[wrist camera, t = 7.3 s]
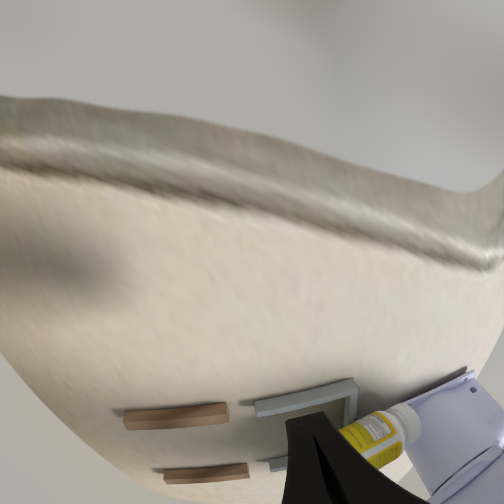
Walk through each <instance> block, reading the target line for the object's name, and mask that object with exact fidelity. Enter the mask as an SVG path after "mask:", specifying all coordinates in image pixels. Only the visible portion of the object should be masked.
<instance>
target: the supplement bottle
mask: <svg viewBox="0 0 504 504" xmlns="http://www.w3.org/2000/svg"><path fill="white" fill-rule="evenodd" d="M339 431H340V433H341V434H342V435H343V436H344V437H345V438H346V439H347V441H348V442H349V443H350V444H351V445H352V446H353V447H354V448H355V449H356V450H357V451H358V452H359V453H360V454H361V455H362V456H363V457H364V458H365V459H366V460H367V461H368V462H370V463H371V464H372V465H373V466H374V467H375V468H376V469H380V468H382V467H383V466H385V465H387V464H388V463H390V462H392V461H393V460H395V459H397V458H398V457H399V456H400V455H401V454H402V453H403V451H404V448H406V447H408V446H409V445H411V444H412V443H414V442H415V441H417V440H418V439H419V438H420V436H421V431H422V428H421V423H420V420H419V417H418V415H417V414H416V412H415V411H414V410H413V409H412V408H411V407H410V406H409V405H407V404H405V403H398V404H396V405H394V406H392V407H390V408H388V409H387V410H385V411H376V412H373V413H371V414H369V415H367V416H365V417H363V418H361V419H359V420H357V421H355V422H353V423H351V424H349V425H347V426H345V427H343V428H341V429H339Z"/></svg>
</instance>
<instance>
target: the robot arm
mask: <svg viewBox="0 0 504 504" xmlns="http://www.w3.org/2000/svg"><path fill="white" fill-rule="evenodd" d="M475 374H476V371H475V370H471V371H469V372H467V373H465V374H463V375H461V376H459V377H458V378H456V379H454V380H452V381H450V382H448V383H445V384H443V385H441V386H439V387H437V388H435V389H433V390H431V391H428V392H426V393H424V394H422V395H419V396H417V397H415V398H412V399H410V400H407V401H405V402H403V403H405V404H407V405H409V406H410V407H411V408H412V409H413V410H414V411H415V412H416V414H417V415H418V417H419V420H420V423H421V428H422V431H421V436H420V438H419V439H418V440H417V441H415V442H414V443H412V444H411V445H409V446H408V447H406V448H404V450H405V452H406V453H407V455H408V457H409V459H410V460H411V462H412V464H413V466H414V467H415V469H416V471H417V473H418V474H419V476H420V478H421V480H422V481H423V483H424V485H425V486H426V488H427V490H428V492H429V494H430V496H431V497H430V498H429V499H427V500H426V501H425V500H423V499H421V498H419V497H417V496H415V495H414V494H411V493H410V492H408V491H407V490H405V489H403V488H402V487H400V486H399V485H397V484H396V483H395V482H393V481H392V480H390V479H389V478H388V477H386V476H385V475H384V474H383V473H381V472H380V471H379V470H378V469H376V468H375V467H374V466H373V465H372V464H371V463H370V462H368V461H367V460H366V459H365V458H364V457H363V456H362V455H361V454H360V453H359V452H358V451H357V450H356V449H355V448H354V447H353V446H352V445H351V444H350V443H349V442H348V441H347V439H346V438H345V437H344V436H343V435H342V434H341V433H340V431H339V430H338V429H337V428H336V426H335V425H334V424H333V422H332V421H331V420H330V418H329V417H328V415H327V414H326V413H325V412H323V411H322V412H318V413H314V414H310V415H306V416H302V417H297V418H293V419H288V420H287V421H286V422H285V424H286V431H287V437H288V464H287V475H286V482H285V488H284V494H283V499H282V504H504V409H503V408H502V407H501V406H500V404H499V403H498V402H497V401H496V400H495V399H494V398H493V397H492V396H491V395H490V394H489V393H488V392H487V391H486V390H485V389H484V388H483V387H482V385H481V384H480V383H479V382H478V381H477V380H476V379H475V378H474V377H475Z"/></svg>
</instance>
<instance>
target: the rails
mask: <svg viewBox="0 0 504 504" xmlns="http://www.w3.org/2000/svg"><path fill="white" fill-rule="evenodd" d="M228 422H229V411H228V408H227V404H226V402H224V403H217V404H209V405H201V406H193V407H183V408H172V409H160V410H144V411H126V412H125V415H124V419H123V423H124V425H125V426H126V428H127V430H152V429H170V428H184V427H195V426H204V425H213V424H221V423H228ZM245 478H250V476H249V468H248V465H247V463H245V464H238V465H230V466H221V467H211V468H199V469H182V470H164V478H163V480H164V481H165V482H166V484H192V483H208V482H219V481H229V480H238V479H245Z"/></svg>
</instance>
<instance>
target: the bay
mask: <svg viewBox="0 0 504 504" xmlns="http://www.w3.org/2000/svg"><path fill="white" fill-rule="evenodd" d="M358 389H359V388H358V386H357V384H356V382H355V381H354V379H353V378H351V379H347V380H344V381H340V382H337V383H333V384H329V385H326V386H322V387H318V388H314V389H310V390H306V391H302V392H297V393H293V394H288V395H284V396H279V397H274V398H269V399H264V400H259V401H254V405H255V411H256V416H257V418H259V417H264V416H270V415H275V414H280V413H284V412H289V411H294V410H298V409H302V408H306V407H310V406H314V405H318V404H322V403H326V402H330V401H333V400H337V399H340V398H344V397H345V405H344V422H343V427H345V426H347V425H349V424H351V423H353V422H355V420H356V411H357V400H358ZM268 461H269V466H270V471H271V472H276V471H281V470H286V469H287V464H288V456H285V457H280V458H275V459H269V460H268Z"/></svg>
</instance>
